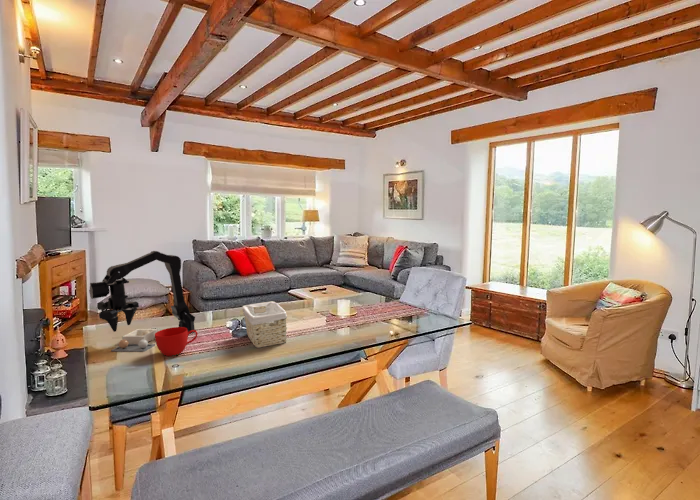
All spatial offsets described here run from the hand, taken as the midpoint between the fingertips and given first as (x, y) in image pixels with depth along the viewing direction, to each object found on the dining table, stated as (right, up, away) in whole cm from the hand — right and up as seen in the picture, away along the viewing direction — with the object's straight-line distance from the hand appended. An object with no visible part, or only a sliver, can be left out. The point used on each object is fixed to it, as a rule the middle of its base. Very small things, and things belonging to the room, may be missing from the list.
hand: (121, 328), depth 185 cm
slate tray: (+5, -10, 0) cm, 11 cm away
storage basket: (+64, -7, +6) cm, 64 cm away
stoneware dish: (+3, -8, +12) cm, 15 cm away
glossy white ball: (+10, -9, 0) cm, 13 cm away
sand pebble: (+5, -7, +11) cm, 14 cm away
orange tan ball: (0, -9, +1) cm, 9 cm away
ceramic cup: (+28, -10, -7) cm, 31 cm away
